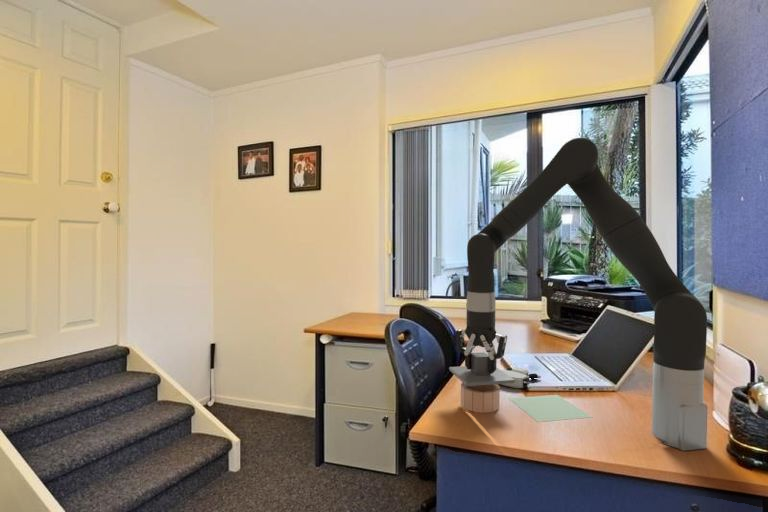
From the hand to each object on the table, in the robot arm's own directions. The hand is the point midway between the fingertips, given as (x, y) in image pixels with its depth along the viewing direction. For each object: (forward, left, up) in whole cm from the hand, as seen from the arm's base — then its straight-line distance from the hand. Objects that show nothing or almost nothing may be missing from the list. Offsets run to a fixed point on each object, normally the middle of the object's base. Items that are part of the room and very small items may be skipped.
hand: (480, 370), depth 110 cm
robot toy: (+15, -18, -11) cm, 26 cm away
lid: (0, 0, -2) cm, 2 cm away
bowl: (0, 0, -10) cm, 10 cm away
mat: (-5, -17, -10) cm, 20 cm away
